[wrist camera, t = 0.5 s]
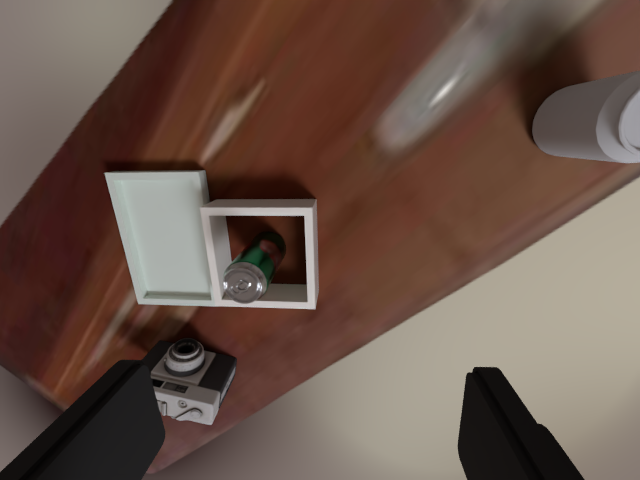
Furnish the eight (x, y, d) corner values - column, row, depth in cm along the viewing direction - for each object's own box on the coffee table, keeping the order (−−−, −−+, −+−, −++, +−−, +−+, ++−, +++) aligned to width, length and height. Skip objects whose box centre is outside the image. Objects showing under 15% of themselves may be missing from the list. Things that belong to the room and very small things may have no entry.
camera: (240, 339, 49) (215, 388, 40) (235, 377, 52) (210, 430, 43) (158, 321, 49) (114, 364, 40) (158, 359, 52) (116, 408, 43)
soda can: (293, 254, 43) (274, 296, 32) (264, 268, 44) (235, 313, 33) (275, 224, 42) (248, 257, 31) (246, 239, 43) (210, 276, 32)
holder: (216, 199, 41) (199, 207, 37) (316, 199, 40) (312, 207, 35) (228, 288, 46) (215, 305, 41) (318, 290, 45) (315, 309, 40)
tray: (115, 171, 41) (104, 172, 39) (205, 170, 40) (198, 171, 38) (146, 297, 48) (138, 303, 46) (224, 299, 47) (219, 306, 45)
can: (541, 167, 36) (627, 182, 25) (517, 112, 35) (600, 101, 23) (607, 132, 34) (732, 131, 23) (585, 71, 33) (711, 38, 21)
